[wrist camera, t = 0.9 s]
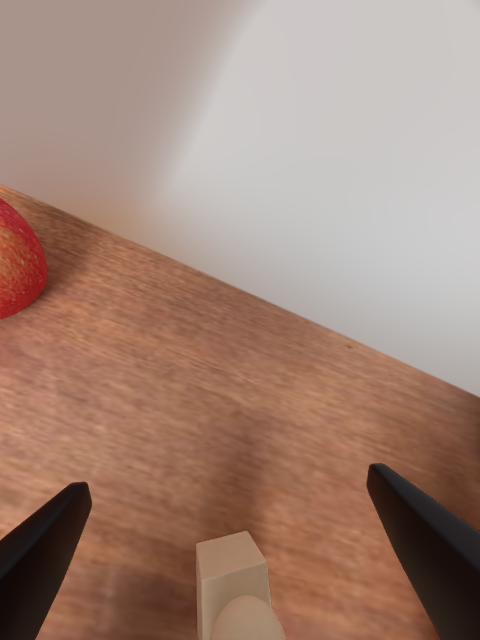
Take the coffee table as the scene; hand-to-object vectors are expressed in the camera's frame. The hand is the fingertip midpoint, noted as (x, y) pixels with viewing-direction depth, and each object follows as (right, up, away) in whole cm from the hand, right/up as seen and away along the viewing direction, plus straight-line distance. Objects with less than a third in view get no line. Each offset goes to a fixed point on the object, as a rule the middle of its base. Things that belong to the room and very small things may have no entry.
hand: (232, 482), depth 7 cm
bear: (-1, -12, +7) cm, 14 cm away
